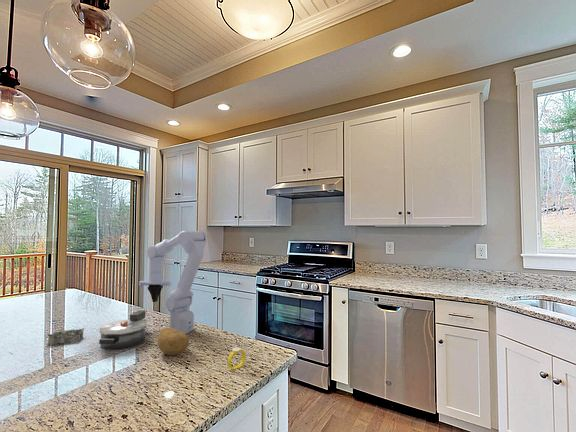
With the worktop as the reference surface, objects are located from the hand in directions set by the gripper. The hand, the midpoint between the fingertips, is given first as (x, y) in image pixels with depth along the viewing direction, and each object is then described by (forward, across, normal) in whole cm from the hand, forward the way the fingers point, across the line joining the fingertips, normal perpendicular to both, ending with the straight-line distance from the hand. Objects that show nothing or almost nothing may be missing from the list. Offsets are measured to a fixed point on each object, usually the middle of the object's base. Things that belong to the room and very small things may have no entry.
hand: (155, 301), depth 135 cm
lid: (+5, +2, +18) cm, 19 cm away
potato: (+11, -22, +31) cm, 39 cm away
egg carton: (+11, +25, +20) cm, 34 cm away
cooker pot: (+10, +2, +20) cm, 22 cm away
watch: (+11, -46, +40) cm, 62 cm away
